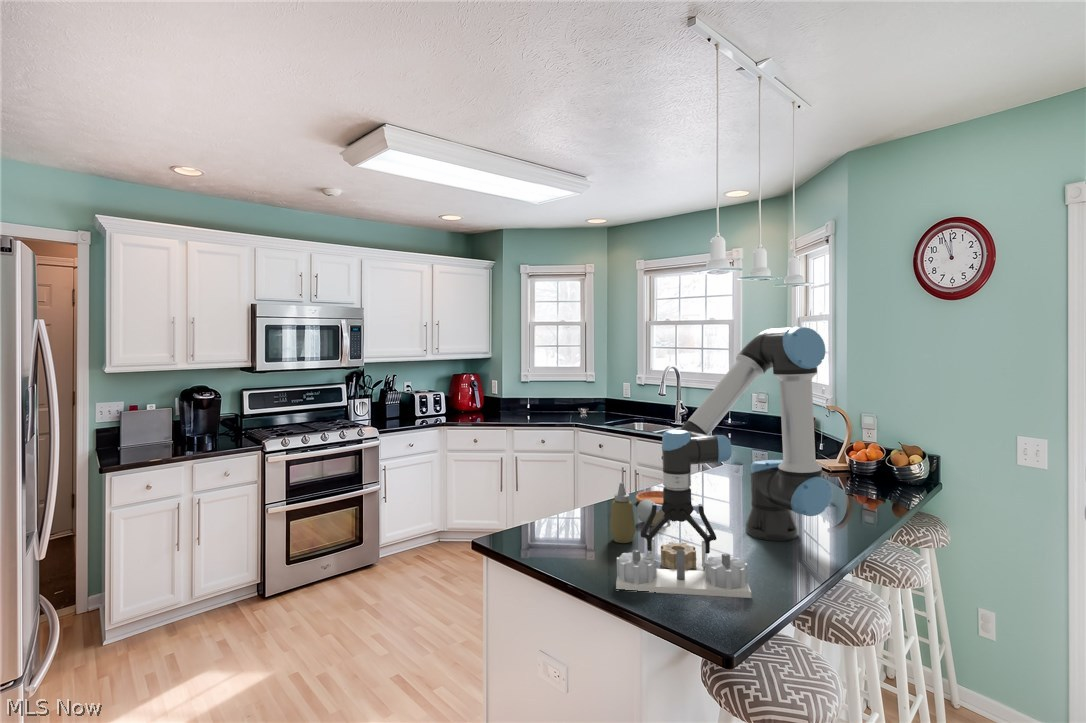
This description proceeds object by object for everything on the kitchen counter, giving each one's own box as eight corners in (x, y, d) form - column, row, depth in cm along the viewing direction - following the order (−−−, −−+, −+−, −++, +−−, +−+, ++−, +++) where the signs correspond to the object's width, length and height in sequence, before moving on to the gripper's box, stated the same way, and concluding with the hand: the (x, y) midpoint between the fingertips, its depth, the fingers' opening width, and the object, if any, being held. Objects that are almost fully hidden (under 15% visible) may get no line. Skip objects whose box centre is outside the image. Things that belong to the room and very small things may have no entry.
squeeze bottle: (619, 547, 168) (618, 487, 168) (604, 539, 175) (603, 482, 175) (641, 541, 172) (640, 484, 171) (625, 534, 179) (624, 478, 179)
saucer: (680, 510, 204) (680, 502, 203) (635, 509, 206) (635, 501, 206) (677, 498, 219) (677, 491, 219) (636, 497, 222) (636, 490, 222)
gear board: (743, 578, 144) (743, 544, 143) (751, 598, 133) (750, 560, 132) (618, 572, 150) (617, 539, 149) (616, 590, 139) (615, 554, 139)
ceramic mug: (650, 529, 183) (650, 506, 183) (636, 522, 190) (635, 500, 190) (676, 525, 187) (676, 502, 187) (661, 518, 195) (661, 496, 195)
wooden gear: (694, 558, 158) (694, 542, 157) (697, 572, 148) (697, 555, 148) (660, 557, 159) (660, 541, 159) (661, 570, 150) (661, 553, 150)
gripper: (630, 489, 152) (632, 566, 153) (726, 491, 147) (727, 571, 148) (631, 482, 159) (633, 556, 160) (722, 484, 155) (723, 560, 155)
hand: (678, 563), depth 154 cm, fingers open, 13 cm apart
